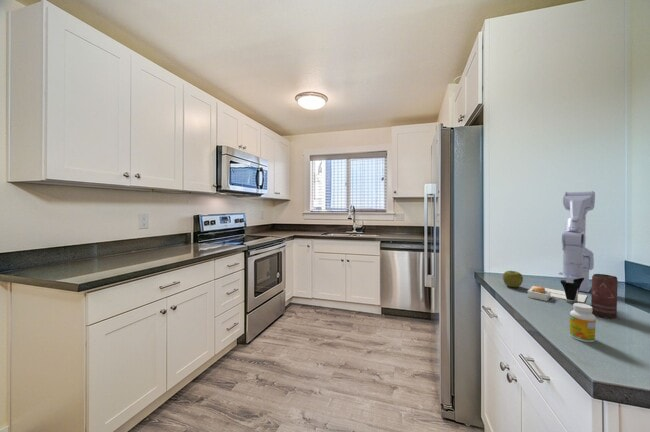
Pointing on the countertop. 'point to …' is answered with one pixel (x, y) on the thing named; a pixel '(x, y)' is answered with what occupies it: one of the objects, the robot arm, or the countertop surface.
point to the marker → (574, 300)
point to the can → (604, 295)
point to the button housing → (539, 295)
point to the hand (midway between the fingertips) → (572, 297)
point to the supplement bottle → (582, 323)
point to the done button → (539, 289)
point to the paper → (564, 295)
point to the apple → (512, 278)
